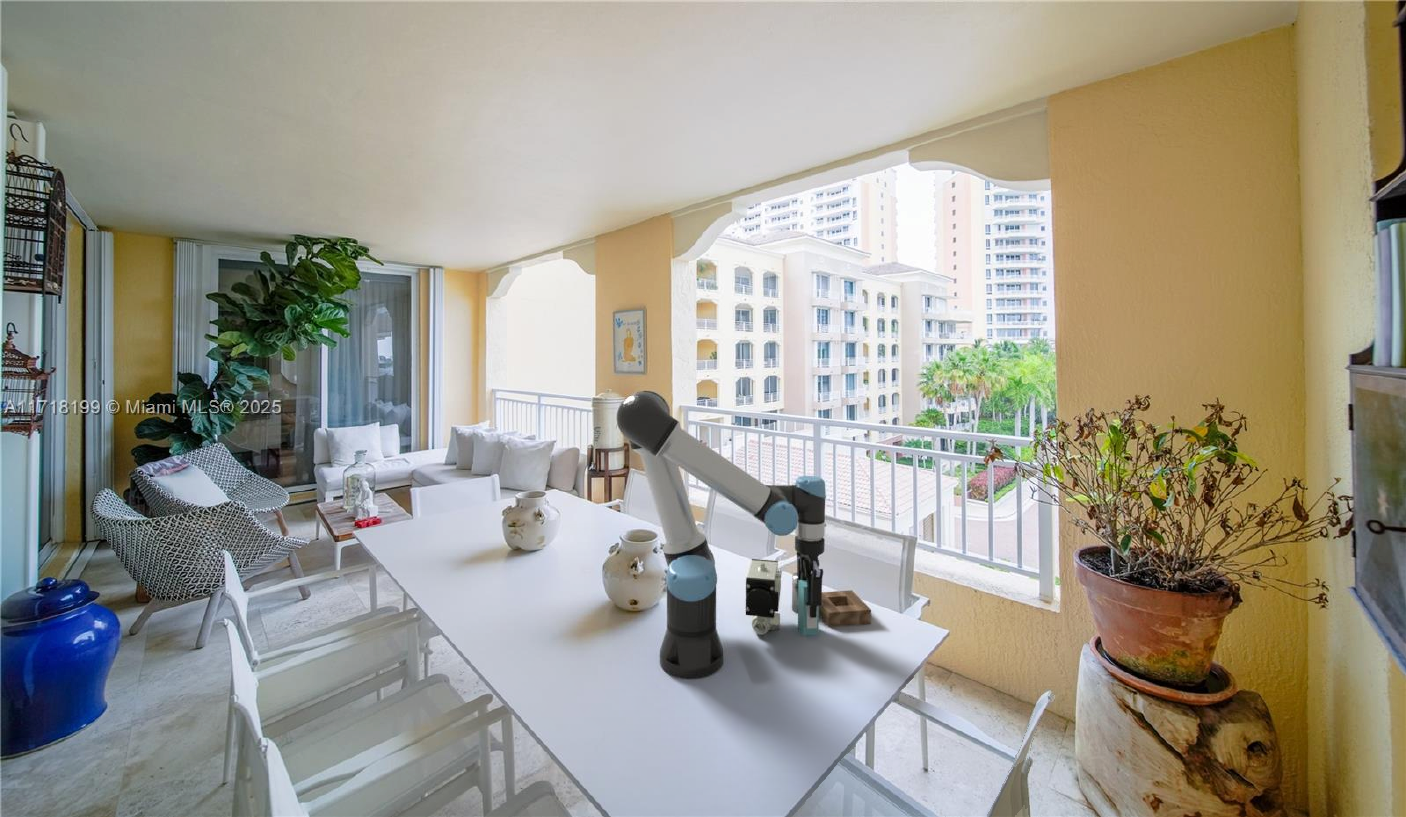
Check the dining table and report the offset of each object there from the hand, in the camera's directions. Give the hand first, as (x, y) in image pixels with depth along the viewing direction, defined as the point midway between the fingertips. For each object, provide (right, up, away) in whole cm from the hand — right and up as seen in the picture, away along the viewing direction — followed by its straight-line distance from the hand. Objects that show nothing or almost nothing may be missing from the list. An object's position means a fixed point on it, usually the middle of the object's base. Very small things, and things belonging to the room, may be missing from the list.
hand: (808, 622), depth 136 cm
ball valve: (-11, -2, +2) cm, 12 cm away
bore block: (+11, -1, +9) cm, 14 cm away
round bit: (0, -1, +12) cm, 12 cm away
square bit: (0, -2, 0) cm, 2 cm away
